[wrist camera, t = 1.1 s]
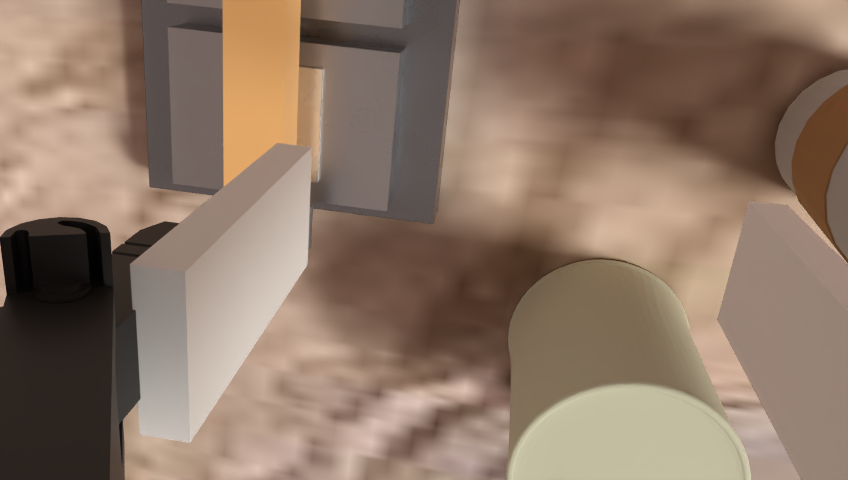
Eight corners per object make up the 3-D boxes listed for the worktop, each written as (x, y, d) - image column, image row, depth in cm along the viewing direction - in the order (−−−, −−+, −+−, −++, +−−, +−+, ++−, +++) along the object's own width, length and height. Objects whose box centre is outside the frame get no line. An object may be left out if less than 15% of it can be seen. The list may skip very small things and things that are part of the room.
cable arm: (219, -302, 26) (196, -321, 24) (333, -293, 26) (318, -311, 24) (222, 235, 34) (205, 252, 32) (310, 247, 33) (298, 265, 31)
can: (477, 302, 39) (461, 442, 28) (646, 228, 37) (700, 351, 26) (554, 438, 42) (566, 616, 31) (716, 378, 39) (793, 548, 28)
